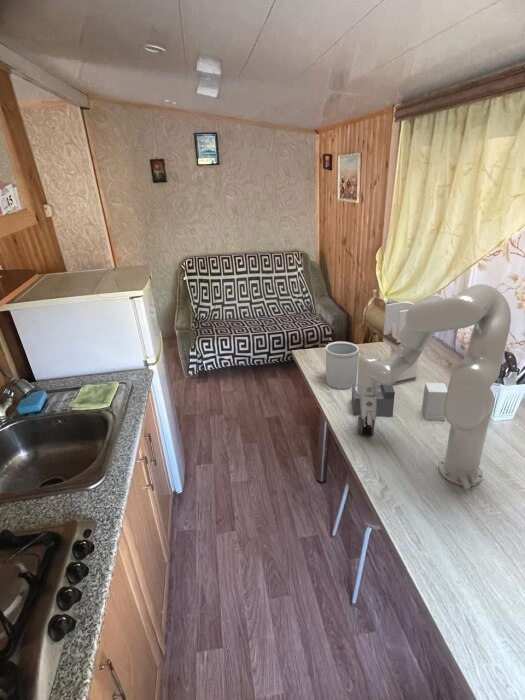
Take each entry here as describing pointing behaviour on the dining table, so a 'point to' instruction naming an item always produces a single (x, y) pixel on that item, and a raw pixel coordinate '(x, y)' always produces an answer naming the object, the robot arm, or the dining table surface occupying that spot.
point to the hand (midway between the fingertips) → (365, 428)
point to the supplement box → (434, 401)
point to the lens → (361, 423)
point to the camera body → (383, 401)
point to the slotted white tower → (397, 334)
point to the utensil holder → (341, 364)
